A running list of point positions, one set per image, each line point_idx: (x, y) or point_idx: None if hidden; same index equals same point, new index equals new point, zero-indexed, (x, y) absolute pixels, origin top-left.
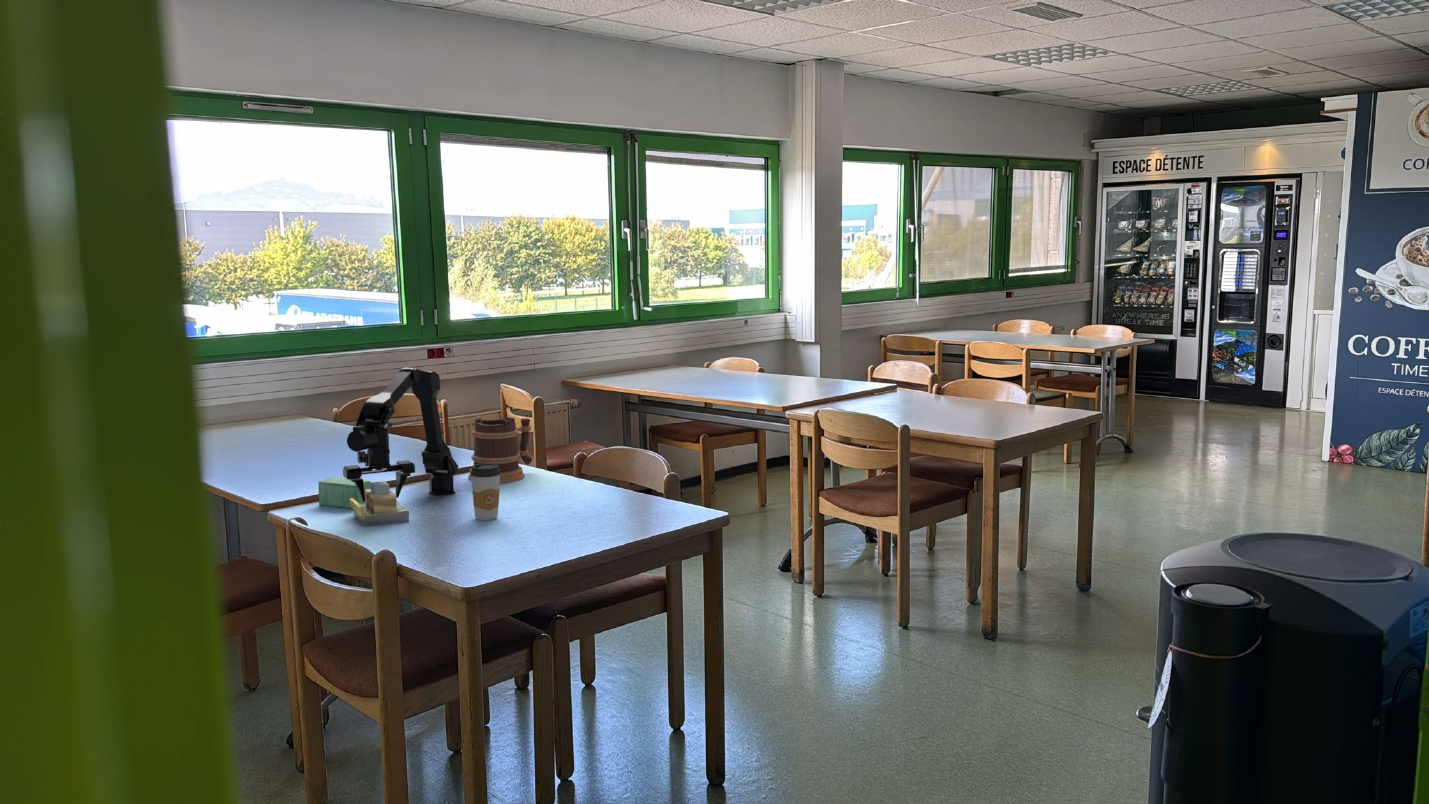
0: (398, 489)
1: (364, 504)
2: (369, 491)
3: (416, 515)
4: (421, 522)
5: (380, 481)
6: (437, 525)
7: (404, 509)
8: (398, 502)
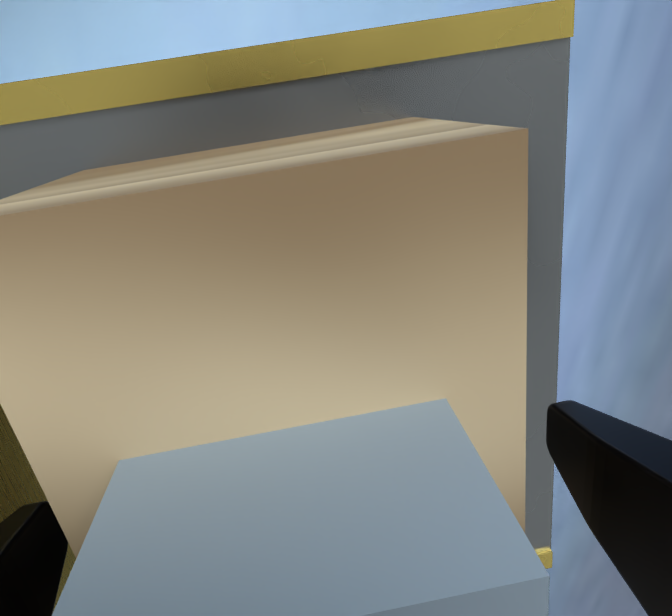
0: (654, 607)
1: (64, 144)
2: (89, 479)
3: (614, 332)
4: (575, 535)
5: (392, 609)
6: (638, 613)
7: (527, 520)
8: (559, 188)
